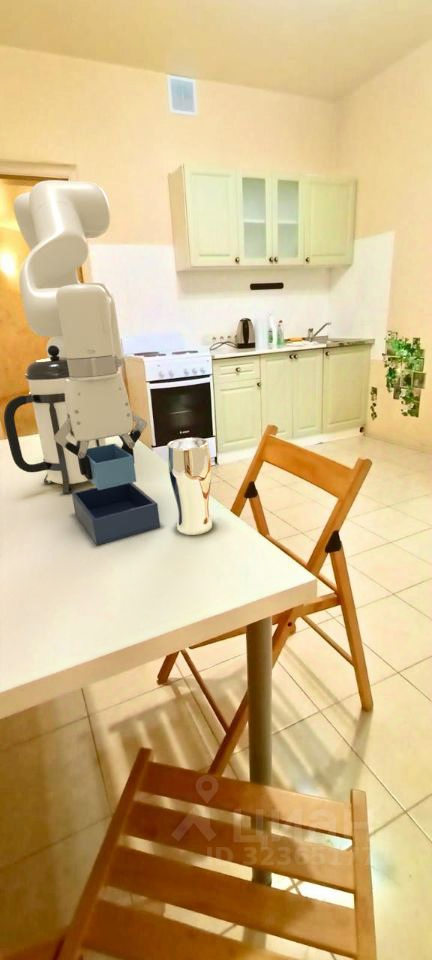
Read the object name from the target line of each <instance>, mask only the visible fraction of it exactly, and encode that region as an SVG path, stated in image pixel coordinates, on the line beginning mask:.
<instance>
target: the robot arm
mask: <svg viewBox="0 0 432 960" xmlns="http://www.w3.org/2000/svg"><path fill="white" fill-rule="evenodd" d="M110 209H111V208H110V204H109V200H108V197H107V195H106V193H105V191H104V190H103V188H102V187H101V186H100V185H99V184H98V183H95V182H93V181H85V180H61V179H48V180H42V181H39V182H37V183H36V184H35V185H33V186H32V188H31V189H30V191H27V192H23V193H21V194H18V195H17V196H16V197H15V198H14V201H13V211H14V216H15V220H16V223H17V226H18V229H19V231H20V234H21V236H22V237H23V240H24V241H25V243H26V246H27V247H28V249H29V250H30V252H29V253H27V254H28V255H26V257H25V259H24V260H23V262H22V264H21V268H20V271H19V277H18V278H19V279H18V281H19V282H18V284H19V292H20V297H21V302H22V309H23V313H24V317H25V320H26V323H27V326H28V328H29V329H30V330H31V331H32V332H33V334H35V335H36V336H39V337H42V338H50V339H49V340H48V341H47V343H46V346H45V347H46V348H45V349H46V356H47V359H49V358H50V357H52V356H51V355H50V354H49V353H48V348H49V347H50V346H52V345H54V346H57V347H58V349H59V350H60V351H59V354H58V355H57V356H59V357H60V358H61V357H66V358H67V364H68V370H69V376H70V379H66V380H65V405H66V414H67V421H66V422H65V423H64V424H63V426H62V427H61V428H60V429H59V431H58V432H57V433H56V434H55V436H54V440H55V441H56V442H57V443H59V444H60V445H62V446H63V447H65V448H66V449H67V450H69V451H70V452H72V453H73V454H75V455H76V456H78V462H79V467H80V472H81V475H84V476H85V477H86V478H87V479H88V481H90V480H92V472H91V466H90V460H89V457H88V456H87V454H86V452H87V448H88V445H89V441H92V440H97V439H99V445H100V446H104V445H107V442H106V439H107V438H114V437H119V439H120V440H121V442H122V445H121V446H120V448H122V449H123V450H125V451H126V452H128V453H129V454H130V455H132V456H133V459H134V464H136V463H135V456H134V455H135V453H134V448H135V446H136V443H137V442H138V441H139V439H140V438H141V436H142V433H144V431H145V429H146V428H147V427H148V422H147V421H146V420H145V419H143V418H142V417H140V416H139V415H138V414H136V413H135V412H134V411H132V408H131V403H130V399H129V394H128V391H127V387H126V384H125V381H124V378H123V375H122V374H121V373H118V372H119V368H121V367H124V366H125V359H124V358H123V353H122V343H121V336H120V330H119V329H120V328H119V323H118V316H117V315H118V314H117V307H116V303H115V299H114V296H113V293H112V290H111V289H110V287H109V286H107V285H106V284H105V283H101V282H80V280H79V279H80V278H79V274H78V269H80V268H81V267H82V266H83V265H84V264H85V263H86V261H87V258H88V255H89V246H88V242H87V239H95V238H99V237H100V236H102V235H104V234H105V233H107V231H108V230H109V227H110V223H111V210H110ZM134 423H135V425H134ZM69 432H70V435H71V436H74V437H75V438H76V440H77V443H76V446H75V445H74V444H72V443H71V442H69V441H68V440H67V439H66V436H67V435H68V433H69Z"/></svg>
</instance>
